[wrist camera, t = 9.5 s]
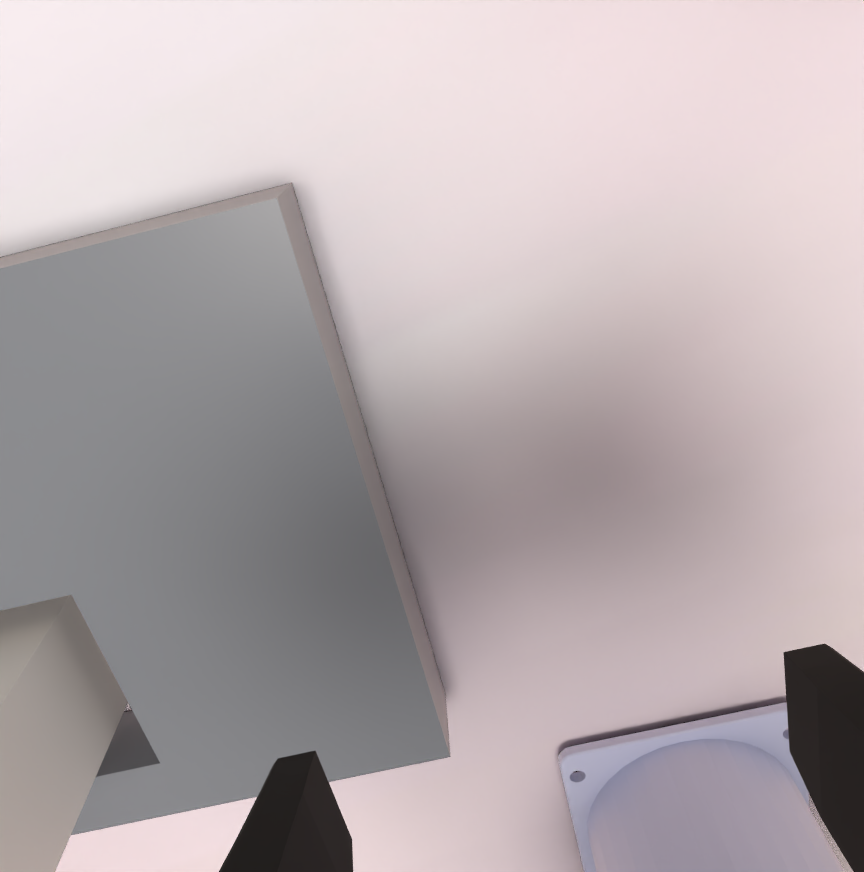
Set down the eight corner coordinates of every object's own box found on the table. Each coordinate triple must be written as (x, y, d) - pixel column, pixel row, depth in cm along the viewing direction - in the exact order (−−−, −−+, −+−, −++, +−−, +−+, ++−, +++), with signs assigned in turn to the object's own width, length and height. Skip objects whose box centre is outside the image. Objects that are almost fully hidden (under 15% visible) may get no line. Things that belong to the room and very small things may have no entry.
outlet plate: (445, 694, 25) (450, 756, 23) (-28, 794, 26) (-69, 864, 24) (291, 182, 18) (276, 197, 16) (-336, 343, 19) (-434, 378, 17)
